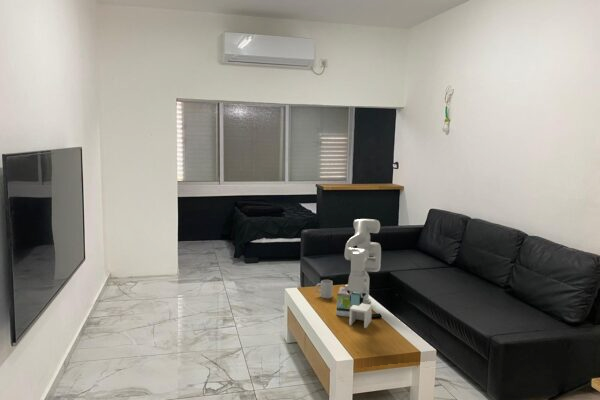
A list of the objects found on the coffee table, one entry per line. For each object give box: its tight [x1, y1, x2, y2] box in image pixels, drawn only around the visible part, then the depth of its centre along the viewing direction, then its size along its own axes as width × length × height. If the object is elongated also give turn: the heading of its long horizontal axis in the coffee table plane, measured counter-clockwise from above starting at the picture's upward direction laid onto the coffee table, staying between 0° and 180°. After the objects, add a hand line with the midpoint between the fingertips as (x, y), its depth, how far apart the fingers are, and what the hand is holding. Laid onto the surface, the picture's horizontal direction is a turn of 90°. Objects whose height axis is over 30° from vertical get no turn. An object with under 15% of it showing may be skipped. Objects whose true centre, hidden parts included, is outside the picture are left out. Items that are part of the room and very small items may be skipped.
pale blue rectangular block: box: [351, 291, 365, 306], centre depth 273 cm, size 12×5×6 cm, turn 156°
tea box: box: [335, 286, 353, 317], centre depth 299 cm, size 15×10×15 cm
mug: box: [315, 279, 334, 299], centre depth 328 cm, size 12×8×11 cm
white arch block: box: [348, 303, 373, 329], centre depth 281 cm, size 12×10×10 cm
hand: (356, 302), depth 271 cm, fingers closed on pale blue rectangular block, 5 cm apart
